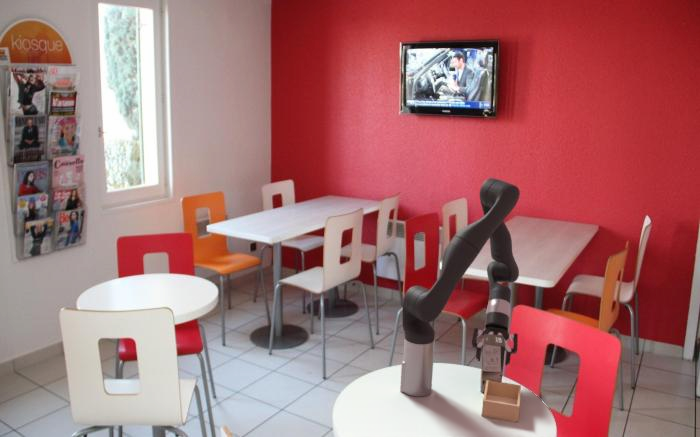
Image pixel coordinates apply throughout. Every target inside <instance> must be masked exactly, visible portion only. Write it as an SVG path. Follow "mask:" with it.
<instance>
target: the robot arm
mask: <svg viewBox="0 0 700 437" xmlns="http://www.w3.org/2000/svg"><path fill="white" fill-rule="evenodd" d="M520 196H521V195H520V189H519V187H518V186H517V185H515V184H512V183H509V182H507V181H504V180H501V179H497V178H494V177H491V178H487V179H486V180H485V181H484V182H482V184H481V187H480V188H479V202H480V207H481V209H482V212H483V216H482V217H481V218H479V219H477V220H476V221H474V222H472V223H470V224H468V225H465V226H464V227H463V228H461V229H460V230H458V231H457V232H456V233H455V234H454V236H453V237H452V238H451V240H450V241H449V242H448V244H447V245H446V247H445V248H444V251H443V253H442V261H441V269H440V273H439V275H438V278H437V280H436V281H435V282H434V284H433V285H432V287H431V288H430V289H428V288H426V287H423V286H421V285H413V286H411V287H409V288H408V289H407V291H405V294H404V296H403V300H402V328H403V332H404V339H403V340H404V342H403V343H404V344H403V357H402V358H403V360H402V362H401V368H400V371H401V372H400V388H399V389H400V392H402V393H405V394H406V395H408V396H412V397H426V396H428V395H430V394H431V393H432V387H433V384H432V383H433V369H434V356H435V354H434V353H435V339H436V331H435V329H434V328H433V326H432V325H431V324H430V322H433V321H435V320H436V319H437V318H439V316H440V315H441V313H442V312H443V310H444V309H445V306H447V303H448V301H449V300H450V298H451V296H452V294H453V292H454V291H455V289H456V287H457V285H458V284H459V282H460V281H461V279H462V278H463V277H464V276H465V274H466V272H467V271H468V270H469V268H470V267H471V265H472V264H473V263H474V261H475V260H476V258H477V257H478V256H479V255H480V253H481V252H482V250H483V247H485V245H486V243H487V242H488V240H489V245H490V248H489V249H490V256H491V259H492V261H491V262H490V263H489V264H488V265H487V267H486V273H487V278H488V284H489V296H488V304H487V307H486V311H485V321H484V327H483V330H482V329H479V328H478V327H475V328H474V330H473V335H472V339H471V347H472V348H473V349H475V350H476V352H475V359H476V360H477V362H480V361H481V358H482V350H483V343H484V338H482V339H481V341H480V342H478V343H477V340H478V338H479V337H481V335H482V337H484V334H490V335H502V336H504V341H505V353H506V354H505V360H504V365H505V366H508V365H510V363H511V355H512V354H514V355H516V354H517V353H518V342H519V341H518V338H519V336H518V333H514V334H512V333H509V327H510V325H509V324H510V318H511V299H512V290H511V288H510V287H509V286H508V285H505V284H501V283H510V284H511V283H515V282H516V281H517V280H518V279H519V277H520V270H519V267H518V264H517V262H516V259H515V257H514V254H513V242H512V236H511V232H510V231H509V229H508V227H507V225H506V223H505V221H504V220H506V219H507V217H508V216H509V215H510V214H511V212H512V211H513V210H514V208H515V207H516V206H517V203H518V201H519V199H520ZM509 339H510V341H511V342H512V343H513V345H512V346H513V347H512V348H511V347H510V345H509V344H508V342H507V341H508V340H509Z"/></svg>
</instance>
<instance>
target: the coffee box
mask: <svg viewBox="0 0 700 437" xmlns="http://www.w3.org/2000/svg"><path fill="white" fill-rule="evenodd" d="M483 339H484V343H483V348H482V354H481V371H480V393H484V392H485V387H486V381H487V380H490V381H496V382H502V383H503V373H504V365H505V353H506V351H505V341H504V336H502V335H490V334H484V336H483Z"/></svg>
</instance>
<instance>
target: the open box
mask: <svg viewBox="0 0 700 437" xmlns="http://www.w3.org/2000/svg"><path fill="white" fill-rule="evenodd" d="M521 388H522V386H521V384H516V383H507V382H503V381H502V382H496V381H490V380H487V381H486V387H485V392H483V397H482V408H481V410H482V411H481V417H486V418H490V419H497V420H503V421H507V422H508V421H509V422H514V423H519V414H520V405H521V404H520V403H521V390H522V389H521Z"/></svg>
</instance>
